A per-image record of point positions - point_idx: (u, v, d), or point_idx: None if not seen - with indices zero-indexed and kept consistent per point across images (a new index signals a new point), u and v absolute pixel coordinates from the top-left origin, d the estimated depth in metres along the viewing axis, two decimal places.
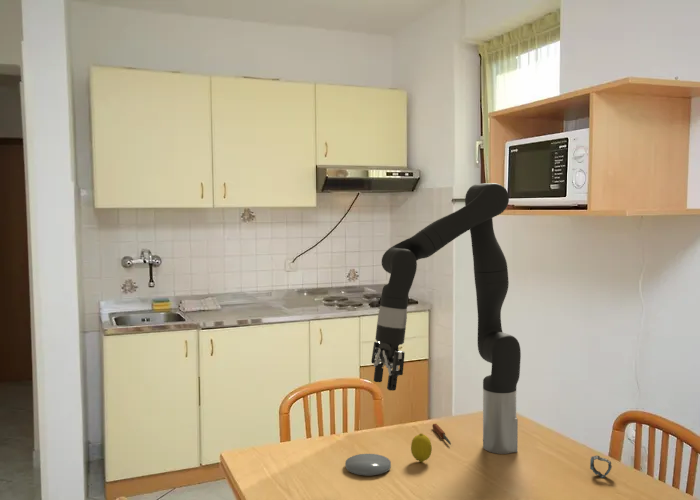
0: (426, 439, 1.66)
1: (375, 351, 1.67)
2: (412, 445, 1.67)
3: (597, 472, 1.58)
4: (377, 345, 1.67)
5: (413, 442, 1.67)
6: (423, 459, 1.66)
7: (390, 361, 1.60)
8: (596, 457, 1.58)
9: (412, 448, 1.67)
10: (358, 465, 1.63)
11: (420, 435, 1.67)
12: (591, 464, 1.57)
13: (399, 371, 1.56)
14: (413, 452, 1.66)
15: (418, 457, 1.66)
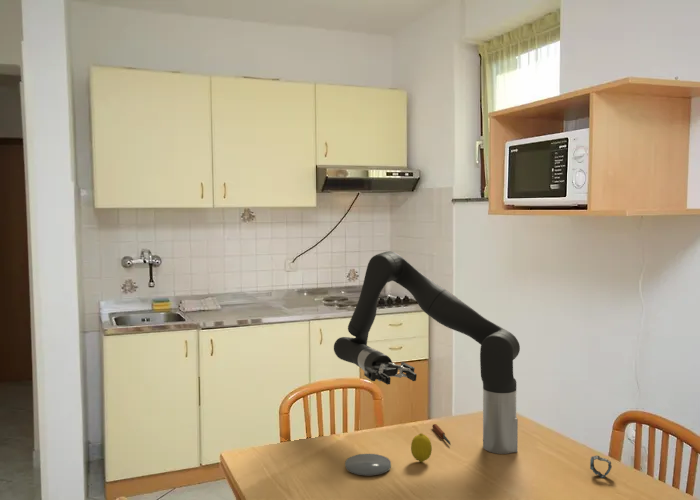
0: (426, 439, 1.66)
1: (404, 372, 1.85)
2: (412, 445, 1.67)
3: (597, 472, 1.58)
4: None
5: (413, 442, 1.67)
6: (423, 459, 1.66)
7: None
8: (596, 457, 1.58)
9: (412, 448, 1.67)
10: (358, 465, 1.63)
11: (420, 435, 1.67)
12: (591, 464, 1.57)
13: None
14: (413, 452, 1.66)
15: (418, 457, 1.66)
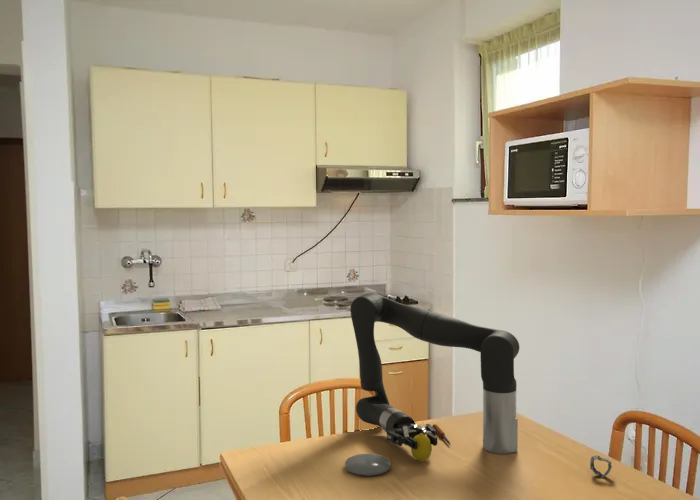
0: (426, 439, 1.66)
1: None
2: None
3: (597, 472, 1.58)
4: None
5: None
6: (423, 459, 1.66)
7: None
8: (596, 457, 1.58)
9: (412, 448, 1.67)
10: (358, 465, 1.63)
11: (420, 435, 1.67)
12: (591, 464, 1.57)
13: (397, 439, 1.68)
14: (413, 452, 1.66)
15: (418, 457, 1.66)
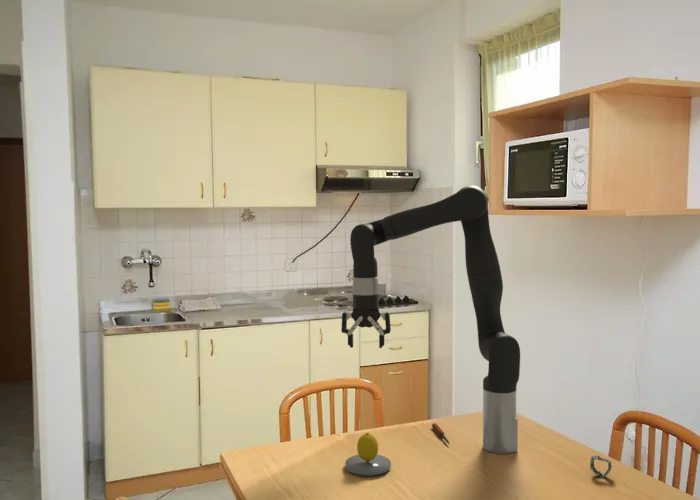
0: (372, 438, 1.63)
1: None
2: (358, 445, 1.64)
3: (597, 472, 1.58)
4: None
5: (359, 441, 1.63)
6: (369, 459, 1.63)
7: None
8: (596, 457, 1.58)
9: (358, 448, 1.63)
10: (358, 465, 1.63)
11: (366, 434, 1.64)
12: (591, 464, 1.57)
13: None
14: (359, 452, 1.63)
15: (363, 457, 1.62)
